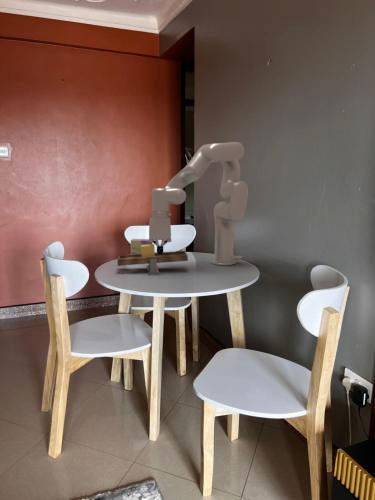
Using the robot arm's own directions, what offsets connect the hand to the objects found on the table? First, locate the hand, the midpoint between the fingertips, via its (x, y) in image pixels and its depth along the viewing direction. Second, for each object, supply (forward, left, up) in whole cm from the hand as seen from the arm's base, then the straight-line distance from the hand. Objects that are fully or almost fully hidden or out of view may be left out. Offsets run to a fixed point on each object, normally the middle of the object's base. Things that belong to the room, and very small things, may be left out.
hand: (160, 254), depth 178 cm
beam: (+3, 0, -3) cm, 5 cm away
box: (+8, -19, -8) cm, 22 cm away
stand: (+3, 0, -8) cm, 9 cm away
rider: (+5, 0, -2) cm, 6 cm away
